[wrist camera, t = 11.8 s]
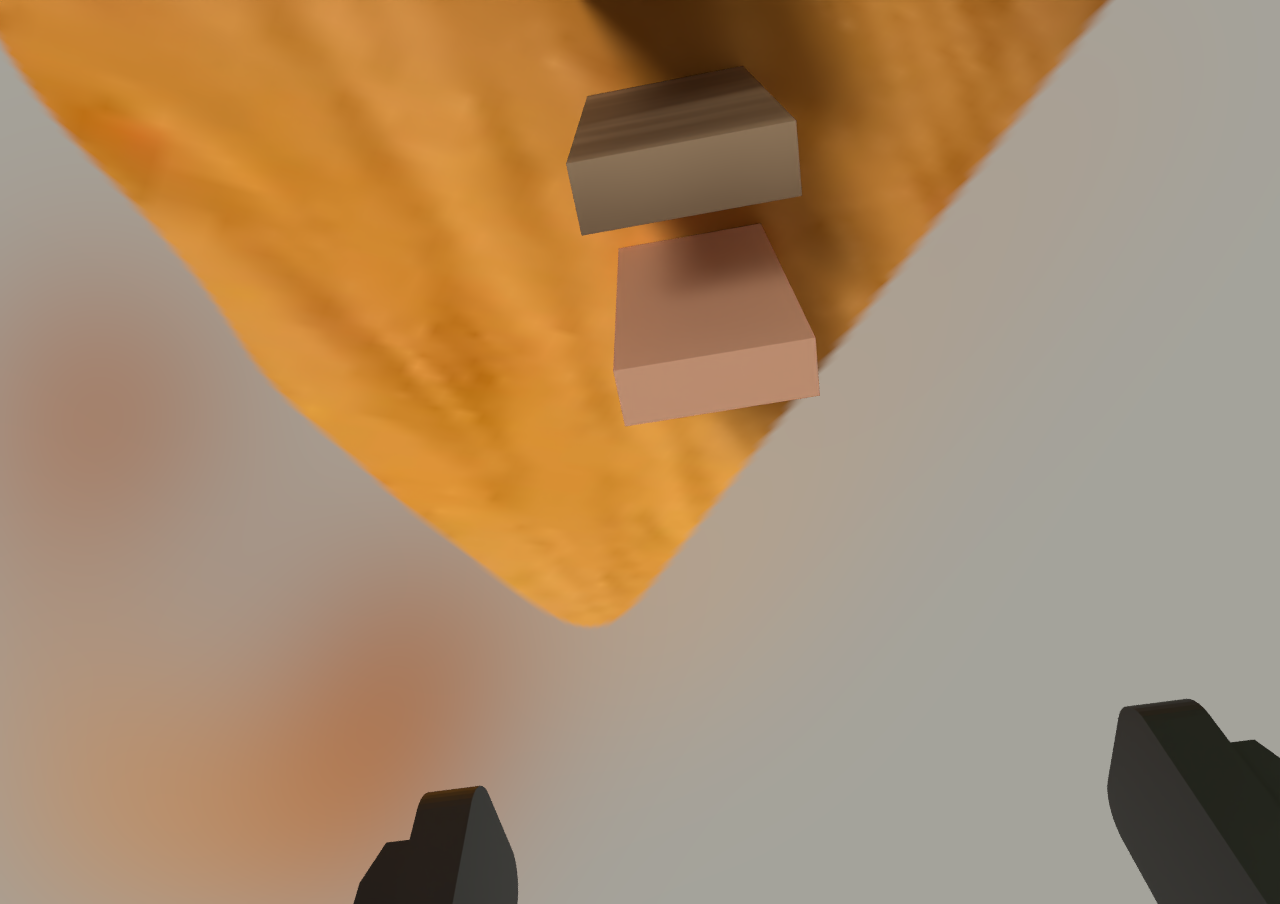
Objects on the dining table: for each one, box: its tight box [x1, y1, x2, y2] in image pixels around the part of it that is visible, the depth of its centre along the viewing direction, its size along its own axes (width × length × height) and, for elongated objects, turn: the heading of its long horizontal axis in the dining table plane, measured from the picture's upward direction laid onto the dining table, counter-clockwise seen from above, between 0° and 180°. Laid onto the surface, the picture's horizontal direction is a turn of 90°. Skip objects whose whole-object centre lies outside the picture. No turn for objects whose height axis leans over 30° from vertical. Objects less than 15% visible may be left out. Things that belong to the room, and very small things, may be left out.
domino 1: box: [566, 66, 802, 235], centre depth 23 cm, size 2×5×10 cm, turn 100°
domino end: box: [613, 224, 820, 426], centre depth 25 cm, size 2×5×10 cm, turn 100°
